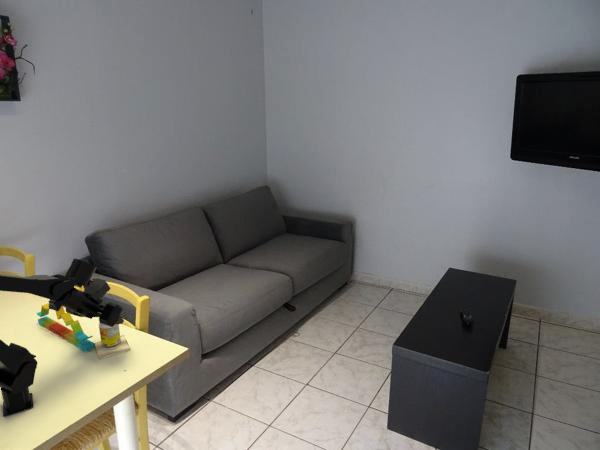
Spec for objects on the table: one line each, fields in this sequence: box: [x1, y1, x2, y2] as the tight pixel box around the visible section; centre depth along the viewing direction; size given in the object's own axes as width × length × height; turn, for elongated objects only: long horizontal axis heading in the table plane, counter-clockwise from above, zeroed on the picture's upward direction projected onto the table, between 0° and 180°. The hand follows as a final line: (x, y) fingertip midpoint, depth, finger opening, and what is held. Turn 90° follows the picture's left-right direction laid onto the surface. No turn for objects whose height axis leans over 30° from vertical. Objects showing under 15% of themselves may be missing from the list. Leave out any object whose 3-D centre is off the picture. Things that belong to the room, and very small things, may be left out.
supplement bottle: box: [98, 322, 121, 349], centre depth 138 cm, size 6×6×10 cm
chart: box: [36, 299, 96, 353], centre depth 146 cm, size 30×3×15 cm, turn 54°
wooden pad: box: [94, 334, 131, 360], centre depth 140 cm, size 9×9×1 cm
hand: (112, 318), depth 139 cm, fingers open, 9 cm apart
